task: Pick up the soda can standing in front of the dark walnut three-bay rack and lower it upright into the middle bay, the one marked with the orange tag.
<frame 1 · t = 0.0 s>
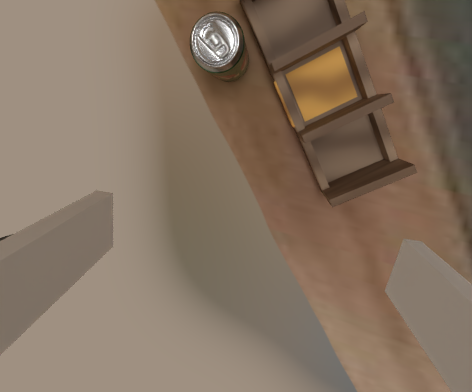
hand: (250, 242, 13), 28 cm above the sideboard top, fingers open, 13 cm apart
slot rack: (320, 85, 36), on the sideboard top
soda can: (229, 61, 36), on the sideboard top
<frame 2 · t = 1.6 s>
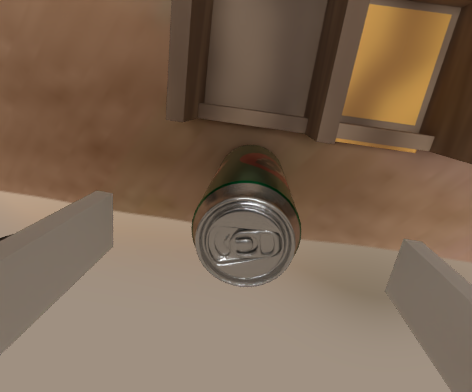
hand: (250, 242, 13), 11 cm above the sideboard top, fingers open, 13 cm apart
slot rack: (380, 68, 20), on the sideboard top
soda can: (250, 173, 23), on the sideboard top
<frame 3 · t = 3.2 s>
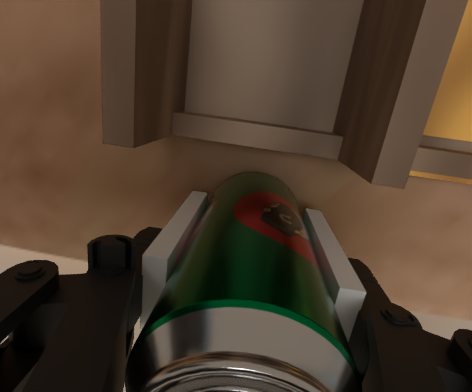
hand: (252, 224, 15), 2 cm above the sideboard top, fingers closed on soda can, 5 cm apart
slot rack: (451, 59, 13), on the sideboard top
soda can: (253, 211, 17), on the sideboard top, touching gripper
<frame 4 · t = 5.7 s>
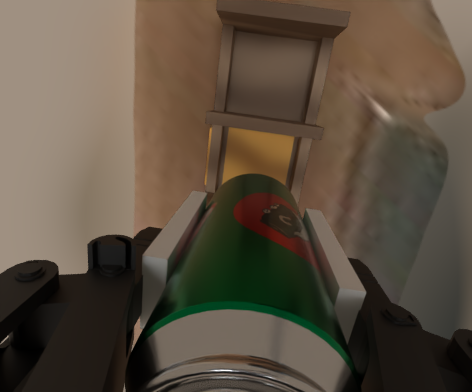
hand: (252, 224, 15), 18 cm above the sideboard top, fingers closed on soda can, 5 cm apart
slot rack: (257, 160, 32), on the sideboard top
soda can: (253, 212, 17), point 16 cm above the sideboard top, touching gripper
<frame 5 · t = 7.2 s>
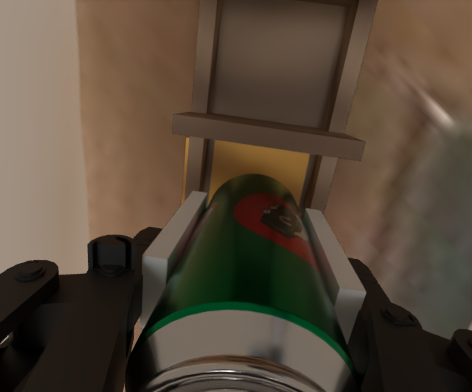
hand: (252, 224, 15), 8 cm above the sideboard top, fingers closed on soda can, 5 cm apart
slot rack: (256, 181, 22), on the sideboard top
soda can: (253, 212, 17), point 6 cm above the sideboard top, touching gripper
when the fingers open (4 cm above the sideboard top, at t = 8.3 s): soda can drops 2 cm, resting on slot rack.
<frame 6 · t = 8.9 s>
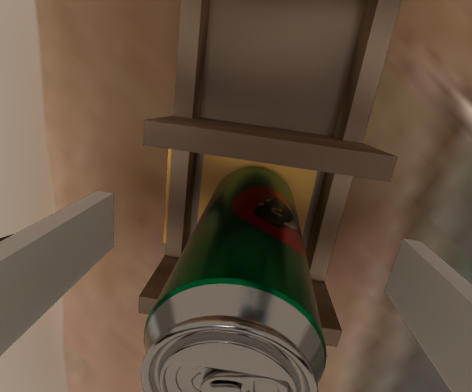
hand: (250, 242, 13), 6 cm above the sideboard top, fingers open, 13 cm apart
slot rack: (254, 198, 19), on the sideboard top
soda can: (253, 201, 18), point 1 cm above the sideboard top, touching slot rack
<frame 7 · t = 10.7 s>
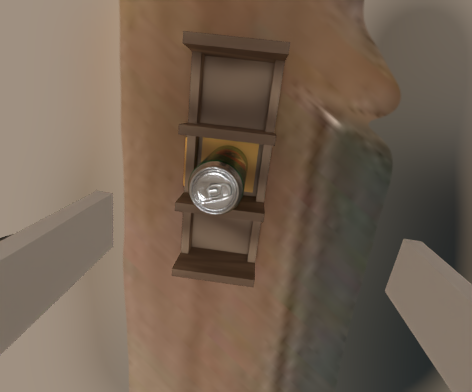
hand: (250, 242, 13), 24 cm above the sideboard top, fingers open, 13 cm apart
slot rack: (228, 163, 36), on the sideboard top
soda can: (228, 164, 36), point 1 cm above the sideboard top, touching slot rack
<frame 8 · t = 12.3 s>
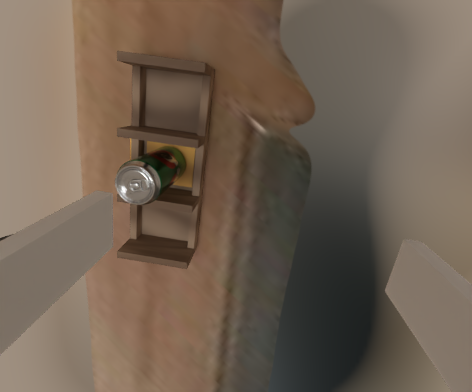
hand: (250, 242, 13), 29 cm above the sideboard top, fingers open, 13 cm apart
slot rack: (171, 162, 42), on the sideboard top
soda can: (170, 162, 41), point 1 cm above the sideboard top, touching slot rack
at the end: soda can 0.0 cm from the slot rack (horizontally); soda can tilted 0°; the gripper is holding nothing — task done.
